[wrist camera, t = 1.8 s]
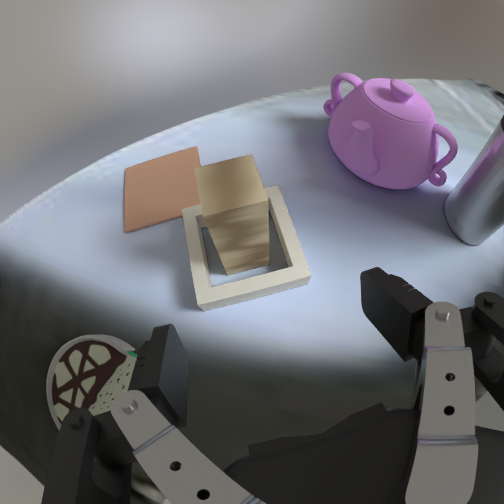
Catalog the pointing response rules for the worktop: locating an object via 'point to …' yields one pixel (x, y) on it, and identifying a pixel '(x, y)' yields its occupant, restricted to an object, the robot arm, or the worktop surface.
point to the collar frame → (255, 285)
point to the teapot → (386, 133)
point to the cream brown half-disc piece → (88, 375)
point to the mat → (160, 189)
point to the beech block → (235, 212)
